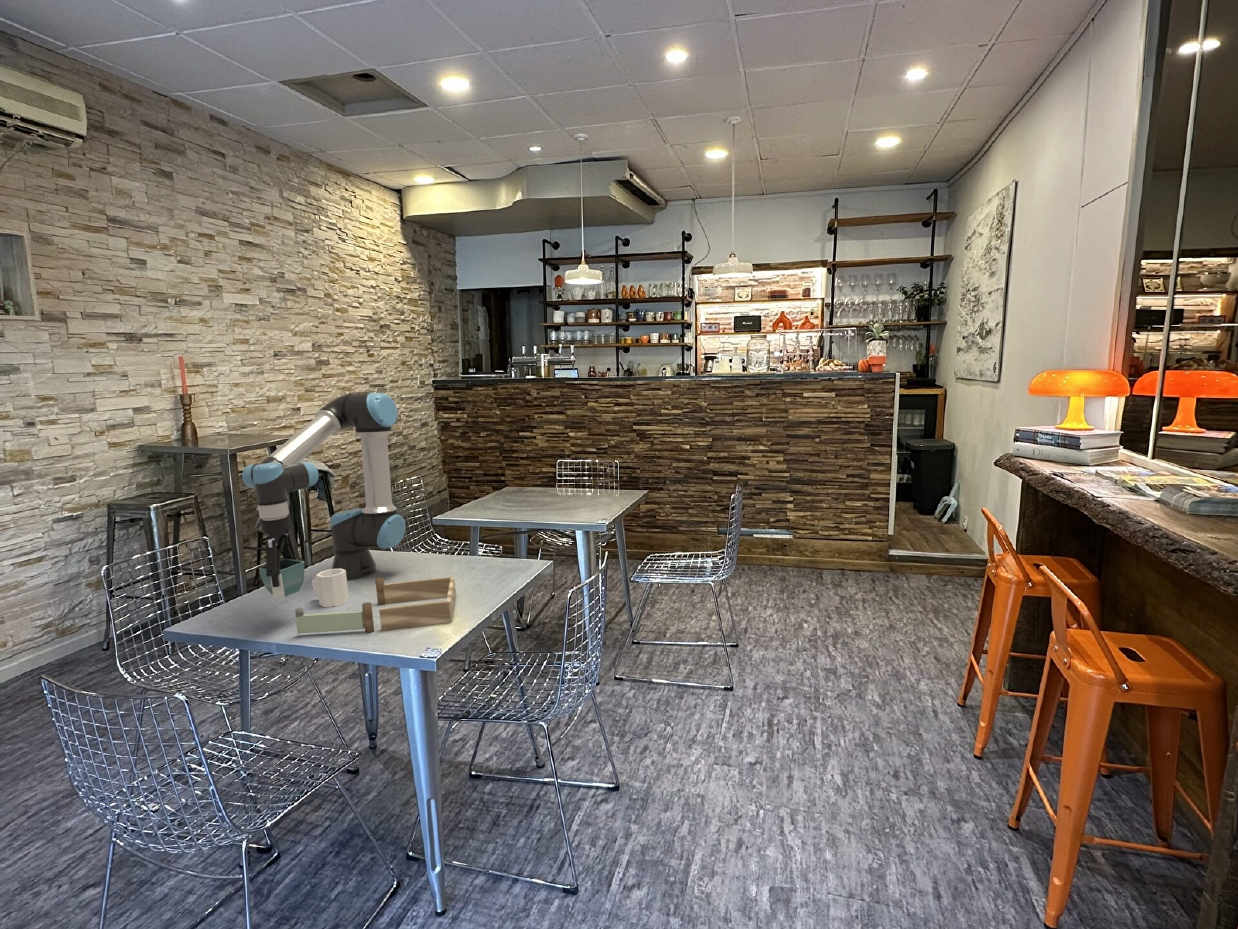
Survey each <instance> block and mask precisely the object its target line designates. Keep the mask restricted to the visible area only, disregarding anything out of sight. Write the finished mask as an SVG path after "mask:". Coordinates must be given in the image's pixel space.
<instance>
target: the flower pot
mask: <svg viewBox="0 0 1238 929" xmlns="http://www.w3.org/2000/svg"><path fill="white" fill-rule="evenodd" d="M258 570H259V574H260V577H261V580H262V583H263V585H264V587H265V589H266V590H267V591H268V592H269V593H270V595H272V596H273V592H272V585H271V579H270V576H268V577H267V576H266V564H265V565H263V566H260V567H258ZM280 574H281V576H282V582H283V589H284V597H283V598H285V597H288V596H290V595H293V594H295V593H298V592H299V591H300V589H302V588H301V587H302V586H303V583H304V578H305V561H304V560H299V559H296V560H291V559H284V558H282V559H281V560H280Z"/></svg>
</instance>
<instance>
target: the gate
mask: <svg viewBox="0 0 1238 929" xmlns="http://www.w3.org/2000/svg"><path fill="white" fill-rule="evenodd" d="M294 613H295V616H294V619H295V625H296V626H295V627H296V631H297V634H312V633H325V632H341V631H356V630H357V631H358V630H365V626H364V617H363V610H353V611H352V610H350V611H337V612H322V613H320V612H319V613H307V614H306V613H305V612H304V608H303V607H298V608H295V610H294Z"/></svg>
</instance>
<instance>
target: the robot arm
mask: <svg viewBox="0 0 1238 929" xmlns="http://www.w3.org/2000/svg"><path fill="white" fill-rule="evenodd" d="M398 413H399V412H398V408H397V405H396V402H395V400H394V399H392V397H391V396H389V394H386V393H383V392H381V393H380V392H364V393H346V394H343V395H341V396H338V397H336V398H334V399H333V400H331V401H330V402H328V403H327V404H325V405H324V406H323V407H321V408H320V409H319V410H318V411H316V412H315V414H314V418H313V419H312V420H310V422H308V423H306V425H304V426H303V427H302V428H301V429H299V431H297V432H296V433H295V434H293V435H292V436H291V437H290V438H289V439H288V440H287V441H285V442H284V443H282V445H280V446H279V447H278V448H277V449H276V450H274V451H273V452H272V453H271V454H269V455H268V456H267V457H266V458H265V459H264V460H262V461H261V462H259V463H252V464H248V465H247V466H245V467H244V469H243V471H242V474H241V479H242V481H243V483H244V485H245V486H246V487H248V488H249V489H254V492H255V496H256V502H257V507H256V511H258V515H259V519H260V529H261V533H263V534H268V539H267V540H265V542H264V544H265V560H266V561H265V563H266V564H265V565H266V576H267V577H268V576H270V579H271V585H272V592H273V595H272V596H273V599H276V598H285V597H284V589H283V582H282V576H281V574H280V560H282V559H291V560H298V559H297V558H298V557H297V556H296V552H295V548H294V547H295V546H294V544H293V542H292V538H291V535H290V529H291V527H292V526H291V519H290V516H289V514H290V511H289V504H288V498H287V497H288V496H287V494H288V493H291V492H296V491H299V490H303V489H308V488H309V487H313V486H314V485H316V484H317V483H318V480H319V478H320V477H319V476H320V475H319V470H318V468H317V467H316V465H314V464H313V463H311V462H310V461H309V462H308V461H307V462H306V461H305V462H302V461H303V460H304V459H305V458H307V457H308V456H309V455H310V454H311V453H312V452H313V451H315V450H316V449H317V448H318V447H320V445H321V444H322V443H323V442H324V441H326V440H327V439H328V438H330V436H332V435H337V434H338V433H339V432H341V431H342V430H345V429H347V428H348V429H349V428H355V434H356V435H357V436H359V438H360V442H361V443H360V444H361V458H362V470H363V481H364V482H363V483H364V494H365V496H364V497H365V507H364V508H362V507H361V508H353V509H349V510H343V511H340V512H336V513H334V514H333V515H332V516H331V517H330V531H331V538H332V545H333V553H334V554H333V555H334V556H333V560H332V564H331V569H344V570H346V578H347V581H349V580H355V579H360V578H365V577H367V576H370V575H372V574H374V573H375V572H377V565H376V561H375V560H374V558H373V555H372V553H371V552H370V548H379V549H390V548H391V549H392V548H395V547H396V546H397V545H399V544H400V543H401V541H402V540H403V538H404V536H405V533H406V521H405V518H404V517H403V516H401V515H400V514H398V508H397V507H396V506H395V504H393V498H392V485H391V483H392V482H391V470H390V456H389V445H388V436H389V435H390V434H391V433H392V426H394V425H396V422H397V420H398ZM281 556H282V559H281Z"/></svg>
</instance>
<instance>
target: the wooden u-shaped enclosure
mask: <svg viewBox="0 0 1238 929" xmlns="http://www.w3.org/2000/svg"><path fill="white" fill-rule="evenodd" d="M374 581H375V589H376V597H377V605H378V606H379V605H380V606H382V605H383V606H384V605H385V604H395V603H396V604H397V603H403V602H413V601H421V600H423V601H424V600H431V599H438V598H439V599H440V598H446V600H445V601H435V602H427V603H419V604H410V605H400V606H393V607H383V608H379V610H378V613H379V621H380V629H381V631H389V630H398V629H406V628H413V627H414V628H415V627H423V626H430V625H431V626H433V625H439V624H448V623H451V622H453V620H454V612H455V606H456V598H457V593H456V591H457V590H456V581H455V577H453V576H448V577H438V578H428V579H420V580H411V581H400V582H392V583H385V580H384V577H378V578H375V579H374ZM372 605H373V604H372V602H368V601H367V602H364V603H362V604H361V606H362V607H361V608H362V611H363V617H364V626H365V628H364V633H366V634H370V633H373V632H374V631H375V625H374V615H373V608H372Z"/></svg>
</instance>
